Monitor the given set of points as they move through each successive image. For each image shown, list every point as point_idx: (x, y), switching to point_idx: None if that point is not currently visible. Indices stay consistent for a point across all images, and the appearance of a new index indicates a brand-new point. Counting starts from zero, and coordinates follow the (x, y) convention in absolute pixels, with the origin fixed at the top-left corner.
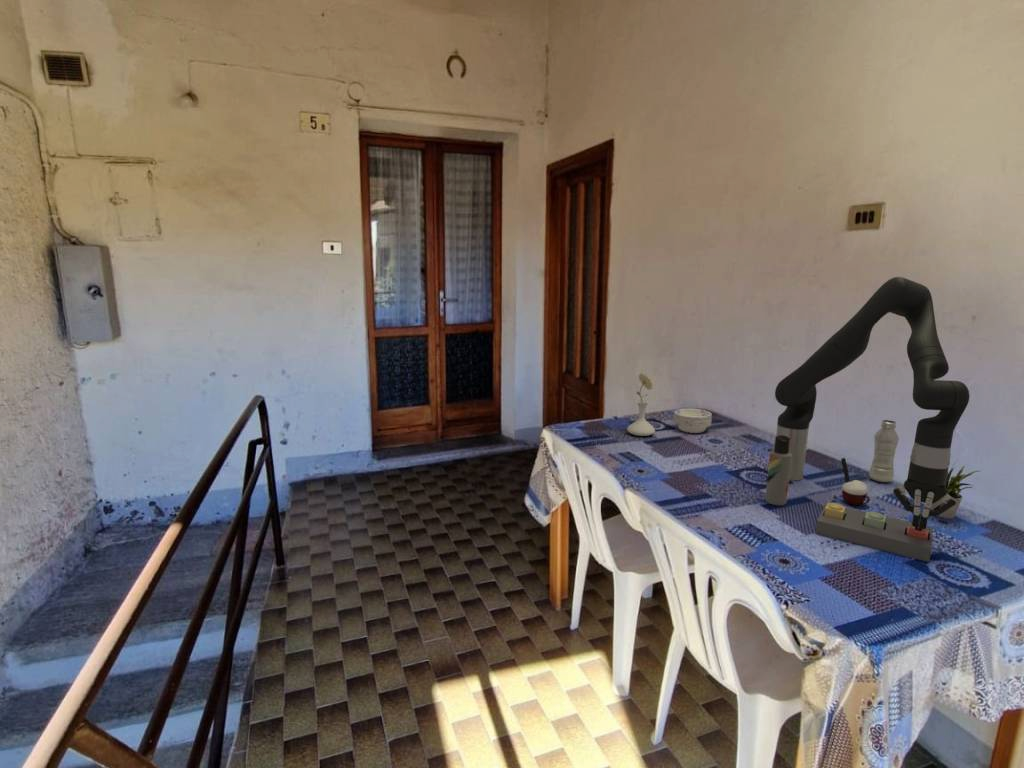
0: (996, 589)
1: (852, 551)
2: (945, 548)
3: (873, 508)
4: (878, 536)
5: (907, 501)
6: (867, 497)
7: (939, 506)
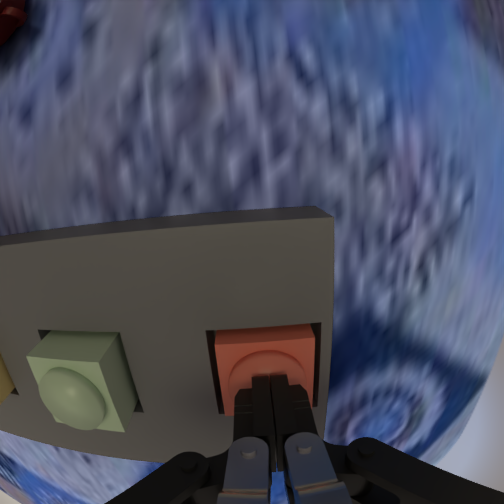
0: (441, 431)
1: (121, 461)
2: (370, 263)
3: (61, 8)
4: (148, 458)
5: (173, 500)
6: (8, 14)
7: (399, 491)
